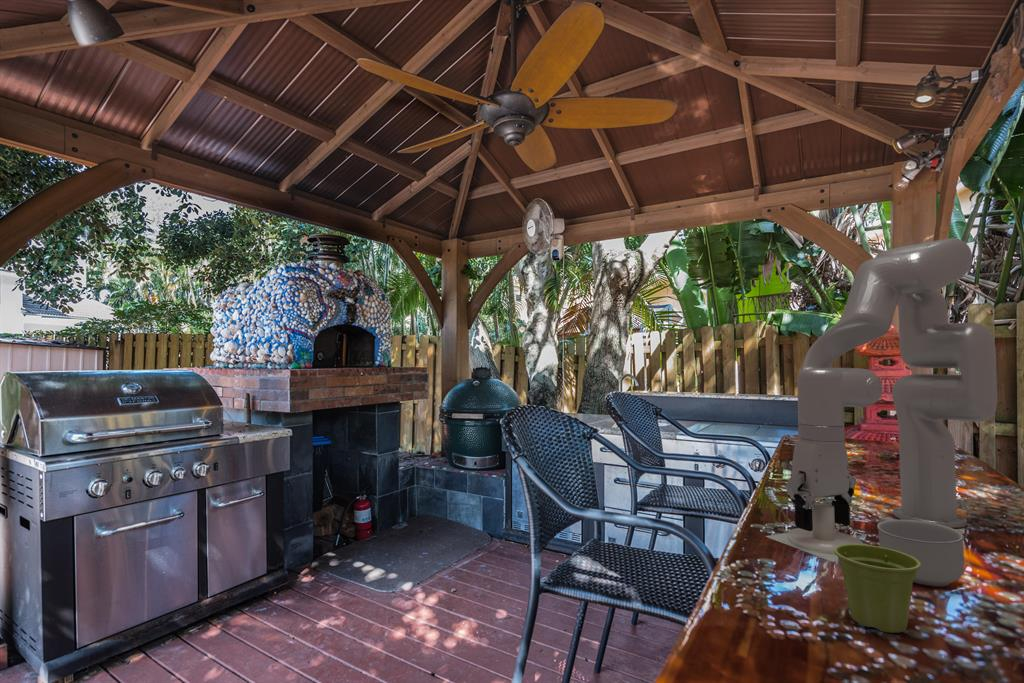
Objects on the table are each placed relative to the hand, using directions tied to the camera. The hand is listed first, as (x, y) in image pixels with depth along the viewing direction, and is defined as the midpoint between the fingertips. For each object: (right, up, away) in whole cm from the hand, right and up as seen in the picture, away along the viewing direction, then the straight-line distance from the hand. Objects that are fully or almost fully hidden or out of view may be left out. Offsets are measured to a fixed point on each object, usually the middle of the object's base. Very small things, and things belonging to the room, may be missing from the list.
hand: (822, 526), depth 97 cm
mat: (0, -4, 0) cm, 4 cm away
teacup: (+7, -3, -14) cm, 16 cm away
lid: (0, -3, 0) cm, 3 cm away
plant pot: (-10, -3, -29) cm, 31 cm away
